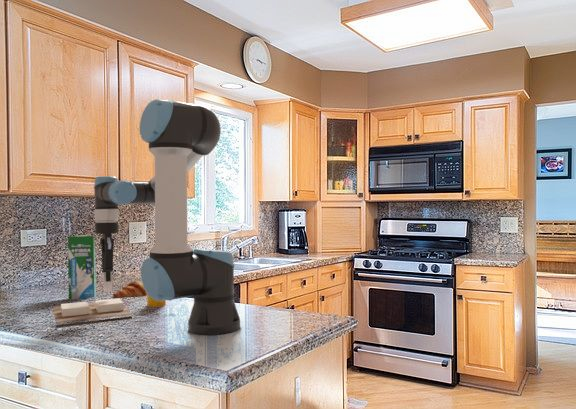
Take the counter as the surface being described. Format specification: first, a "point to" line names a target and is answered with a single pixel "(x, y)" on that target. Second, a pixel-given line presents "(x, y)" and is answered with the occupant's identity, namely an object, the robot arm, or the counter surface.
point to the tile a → (75, 309)
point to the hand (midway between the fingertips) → (107, 290)
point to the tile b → (109, 305)
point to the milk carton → (81, 267)
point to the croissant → (131, 290)
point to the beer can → (154, 302)
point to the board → (89, 316)
